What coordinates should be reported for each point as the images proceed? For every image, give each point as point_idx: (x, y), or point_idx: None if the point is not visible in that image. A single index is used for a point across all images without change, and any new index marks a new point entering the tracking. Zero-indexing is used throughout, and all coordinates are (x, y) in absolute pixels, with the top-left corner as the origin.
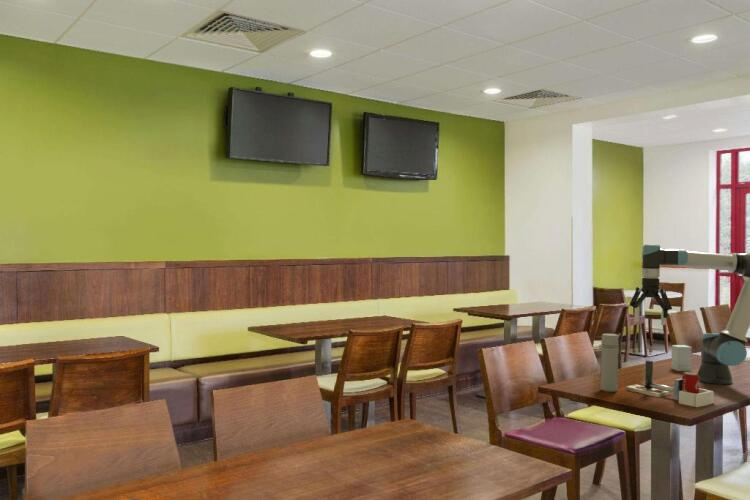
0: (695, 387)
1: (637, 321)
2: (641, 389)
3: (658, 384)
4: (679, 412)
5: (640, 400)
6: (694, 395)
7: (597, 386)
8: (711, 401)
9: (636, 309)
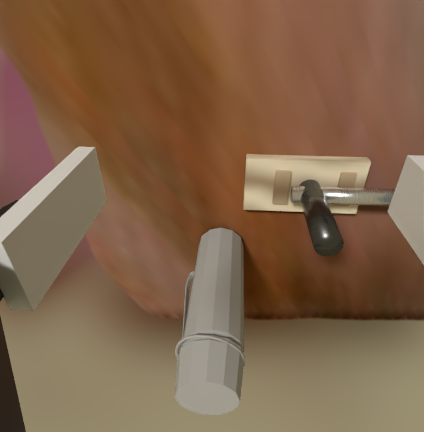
0: None
1: (100, 177)
2: (294, 205)
3: (349, 202)
4: None
5: (331, 267)
6: None
7: (171, 228)
8: None
9: (43, 288)
